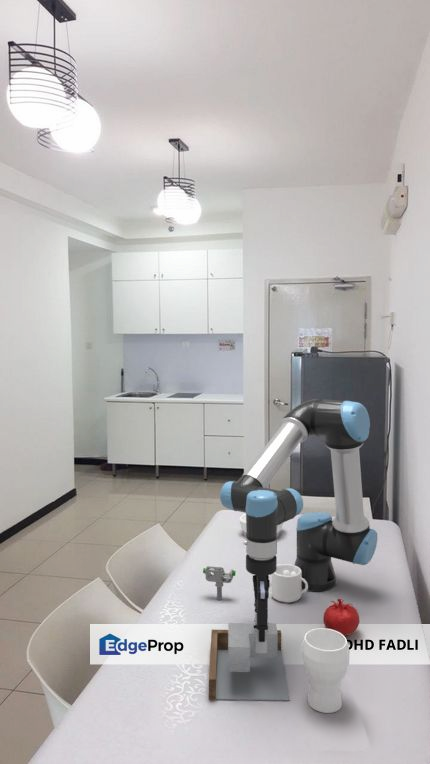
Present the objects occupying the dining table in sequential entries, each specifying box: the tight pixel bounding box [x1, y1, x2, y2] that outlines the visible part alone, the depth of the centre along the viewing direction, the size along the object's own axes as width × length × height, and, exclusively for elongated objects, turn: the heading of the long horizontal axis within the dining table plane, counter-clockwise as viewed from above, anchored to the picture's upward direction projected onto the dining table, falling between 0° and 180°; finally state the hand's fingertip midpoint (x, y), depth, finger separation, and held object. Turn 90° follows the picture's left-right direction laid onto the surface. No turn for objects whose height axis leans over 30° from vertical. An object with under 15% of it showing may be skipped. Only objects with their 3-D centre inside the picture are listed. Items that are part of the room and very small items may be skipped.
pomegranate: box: [322, 598, 360, 636], centre depth 155 cm, size 10×10×9 cm
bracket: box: [227, 622, 278, 672], centre depth 133 cm, size 11×12×6 cm
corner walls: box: [208, 629, 282, 701], centre depth 136 cm, size 19×22×5 cm
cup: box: [301, 627, 350, 714], centre depth 124 cm, size 11×11×15 cm
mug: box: [270, 563, 309, 604], centre depth 175 cm, size 12×10×9 cm
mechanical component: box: [202, 565, 236, 601], centre depth 174 cm, size 3×10×10 cm, turn 78°
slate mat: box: [215, 649, 291, 702], centre depth 135 cm, size 17×20×1 cm
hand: (260, 645), depth 136 cm, fingers closed on bracket, 5 cm apart
